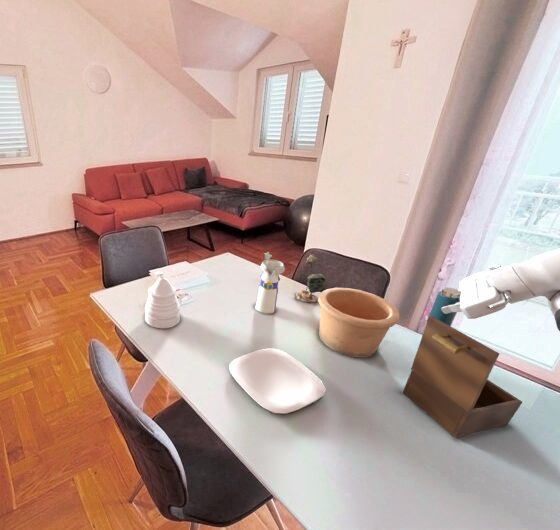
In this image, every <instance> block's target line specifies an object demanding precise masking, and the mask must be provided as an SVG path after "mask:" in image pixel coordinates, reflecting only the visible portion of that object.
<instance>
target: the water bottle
mask: <svg viewBox="0 0 560 530" xmlns="http://www.w3.org/2000/svg"><path fill="white" fill-rule="evenodd" d="M263 255H264V260H263V261H262V262H261V264H260V270H261V273H262V274H260V275H259V276H260V282H259V283H260V284H259V285H258V289H257V295H256V299H255V300H256V301H255V304H254V308H255V310H256V311H257V312H259V313H261V314H269V315H270V314H273V313H275V312H276V310H277V309H276V308H277V300H278V293H279V282H280V280H281V278H280V275H281V274H283V273H284V272H285V271H286V268H285V265H284V263H283V262H282V261H280V260H278V259H271V258H272V257H273V255H272V254H270V251H267V252H263Z"/></svg>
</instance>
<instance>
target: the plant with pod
mask: <svg viewBox="0 0 560 530" xmlns="http://www.w3.org/2000/svg"><path fill="white" fill-rule="evenodd" d="M317 261H318V257H316V256H315V255H313V254H309V256H308V257H307V258H306V260H305V262H304V265H306V264H310V270H309V274H308V276H307V279H306V281H307V285H306V289H305V290H304V289H302V290H300V291H299V292H295V296H294V299H296V300H298V301H302V302H306V303H310V302H317V296H316V295H315V293H321V292H323V291H325V290H326V276H325V275H324V274H322V273H314V274H312V269H313V265H315V264H316V263H317Z"/></svg>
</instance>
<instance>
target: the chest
mask: <svg viewBox="0 0 560 530" xmlns="http://www.w3.org/2000/svg"><path fill="white" fill-rule="evenodd" d="M401 393H402V394H403V395H404V396H405V397H406V398H408V399H409V400H410V401H411V402H412V403H413V404H415V406H417V407H418V408H419V409H421V410H422V411H423V412H424V413H425V414H426V415H428V416H429V417H430V418H431V419H432V420H434V422H436V423H437V424H438V425H440V427H441V428H443V429H444V430H445V431H447V432H448V433H449V434H450V435H452V437H454V438H455V439H457V438H461V437H467V436H470V435H474V434H478V433H482V432H486V431H490V430H495V429H498V428H504V427H507V426H508V425H509V423H510V422H511V420H512V419H513V418H514V416H515V414H516V413H517V411H518V410H519V408H520V407H521V405H522V404H523V400H521V399H519V398H518V397H516V396H514V395H513V394H511V393H510V392H508V391H506V390H505V389H503V388H502V387H500V386H499V385H497V384H495V383H494V382H492V381H491V380H489V378H488V379H487V381H486V383H485V385H484V387H483V389H482V391H481V393H480V395H479V397H478V399H477V401H476V404H475V406H474V408H473V410H472V412H469V413H468V412H467V411H466V410H464V409H463V408H462V407H460V406H459V405H458V404H456V403H455V402H454V401H452V400H451V399H450V398H448V397H447V396H446V395H444V394H443V393H442V392H440V391H439V390H438V389H436V388H435V387H434V386H432V385H431V384H430V383H428V382H427V381H426V380H425V379H423V378H422V377H421V376H419V375H418V374H417V373H415V372H414V371H413V370H411V371H410V374H409V376H408V379H407V380H406V383H405V385H404V387H403V390H402V392H401Z"/></svg>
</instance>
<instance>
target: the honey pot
mask: <svg viewBox="0 0 560 530" xmlns="http://www.w3.org/2000/svg"><path fill="white" fill-rule="evenodd" d="M155 275H156V277H157V278H158V279H157V280H156V281H155V282H154V284H153V285H151V286H150V287H148V289H147V294H148V296H147V299H146V303H145V306H144V320H145V322H146V324H147V325H149V327H150V326H151V327H153V328H156V329H170V328H173V327H174V326H176V325H178V324H179V322H180V320H181V305H180V302H179V300H178V296H177V294H176V293H177V289H176V288H175V287H174V286H172V284H171V282H170V281H169V279H167V278H166V277H163V276H164V271H162V270H161V271H160V270H157V271H155Z"/></svg>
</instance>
